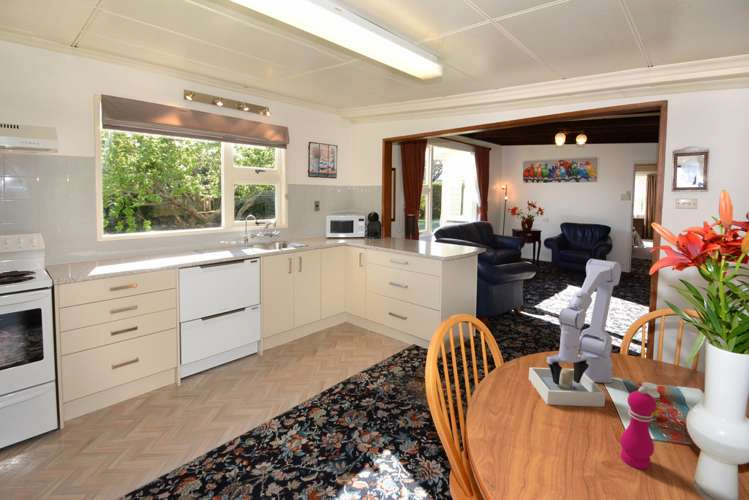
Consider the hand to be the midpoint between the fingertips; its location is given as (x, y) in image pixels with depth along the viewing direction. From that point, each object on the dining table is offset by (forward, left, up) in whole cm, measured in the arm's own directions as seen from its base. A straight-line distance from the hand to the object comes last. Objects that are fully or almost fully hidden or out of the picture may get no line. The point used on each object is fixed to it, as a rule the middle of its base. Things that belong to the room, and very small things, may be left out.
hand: (566, 382), depth 138 cm
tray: (0, -1, -4) cm, 4 cm away
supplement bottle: (-19, +13, -4) cm, 23 cm away
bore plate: (0, 0, -4) cm, 4 cm away
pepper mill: (-3, +35, -4) cm, 35 cm away
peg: (0, 0, -3) cm, 3 cm away
